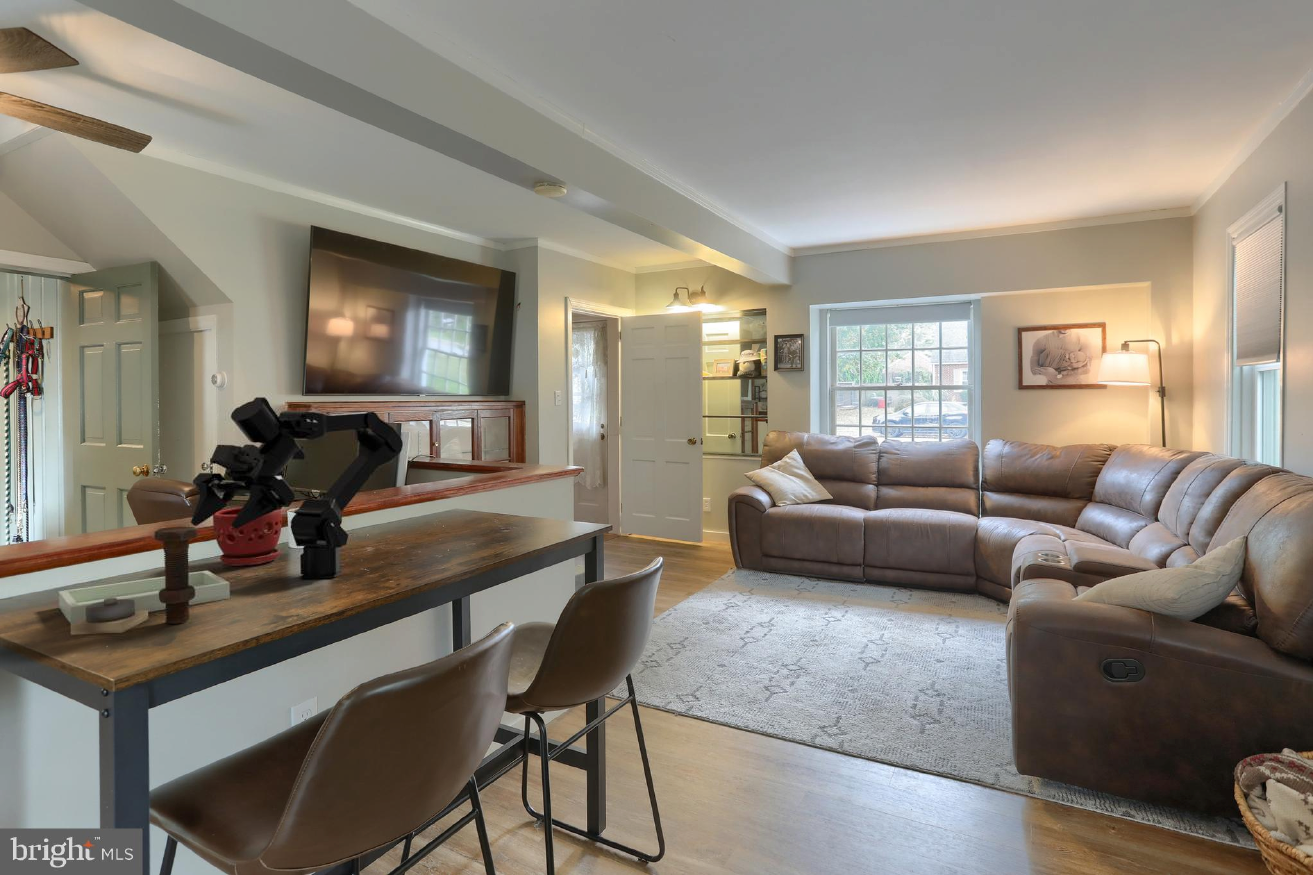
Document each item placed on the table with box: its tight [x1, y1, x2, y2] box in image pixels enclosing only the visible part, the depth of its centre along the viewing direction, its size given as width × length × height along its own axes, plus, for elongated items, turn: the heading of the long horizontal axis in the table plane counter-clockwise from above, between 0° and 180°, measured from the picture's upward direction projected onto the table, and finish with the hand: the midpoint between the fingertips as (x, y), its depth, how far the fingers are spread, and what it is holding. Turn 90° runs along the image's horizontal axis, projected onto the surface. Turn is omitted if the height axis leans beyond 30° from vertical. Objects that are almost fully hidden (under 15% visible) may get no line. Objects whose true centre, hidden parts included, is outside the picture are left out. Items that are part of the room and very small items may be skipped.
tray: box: [58, 570, 231, 626], centre depth 122 cm, size 22×14×3 cm, turn 137°
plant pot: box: [212, 506, 283, 567], centre depth 155 cm, size 13×13×12 cm
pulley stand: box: [70, 598, 149, 636], centre depth 108 cm, size 7×7×4 cm
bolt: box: [154, 526, 198, 625], centre depth 110 cm, size 6×5×15 cm
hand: (212, 525), depth 119 cm, fingers open, 9 cm apart
